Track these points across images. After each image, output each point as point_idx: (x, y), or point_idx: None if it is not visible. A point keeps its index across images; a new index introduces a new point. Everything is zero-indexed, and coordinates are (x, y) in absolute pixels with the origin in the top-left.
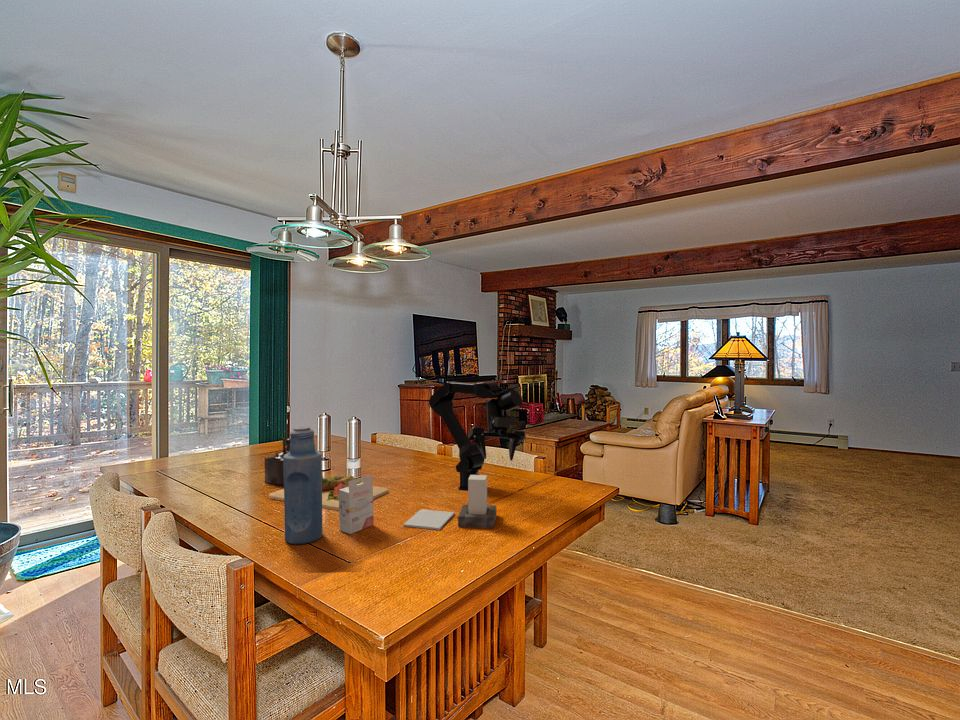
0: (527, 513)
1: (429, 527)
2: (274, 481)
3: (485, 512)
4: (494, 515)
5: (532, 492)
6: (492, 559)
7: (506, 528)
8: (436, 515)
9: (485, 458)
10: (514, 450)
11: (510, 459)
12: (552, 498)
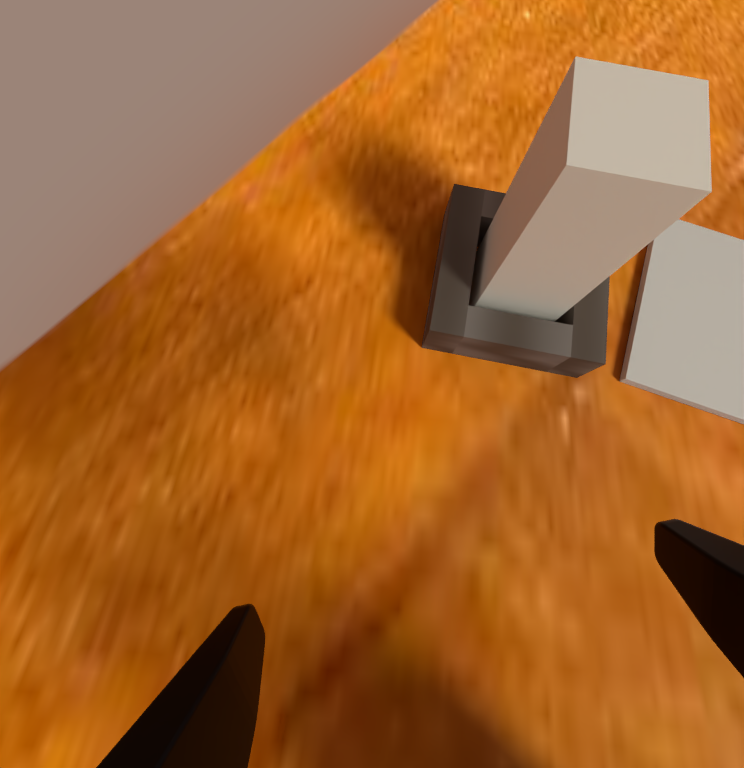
0: (270, 359)
1: (699, 227)
2: None
3: (491, 223)
4: (446, 224)
5: None
6: (462, 16)
7: (394, 209)
8: (702, 346)
9: (660, 528)
10: (109, 763)
11: (260, 645)
12: (49, 594)
